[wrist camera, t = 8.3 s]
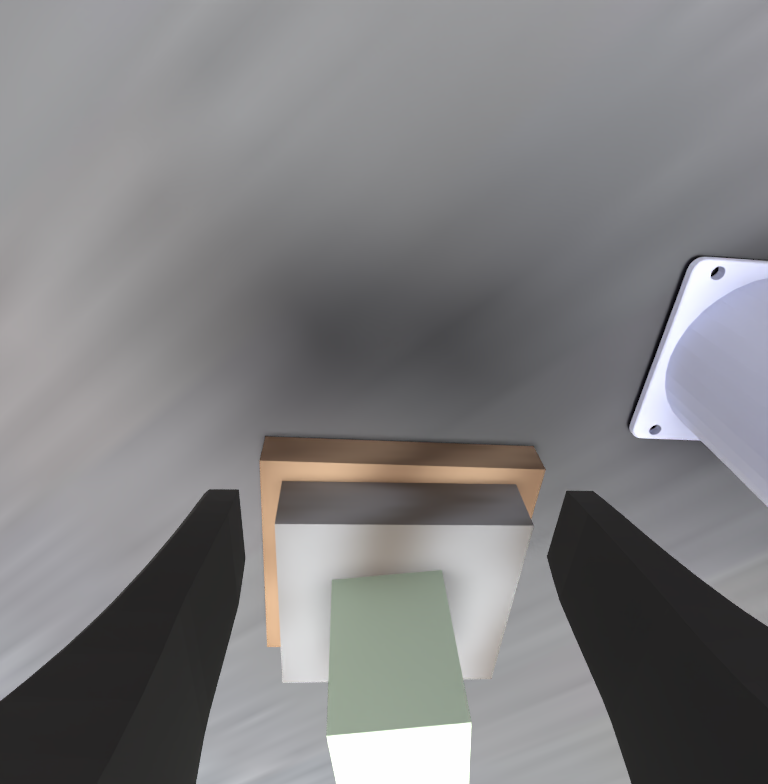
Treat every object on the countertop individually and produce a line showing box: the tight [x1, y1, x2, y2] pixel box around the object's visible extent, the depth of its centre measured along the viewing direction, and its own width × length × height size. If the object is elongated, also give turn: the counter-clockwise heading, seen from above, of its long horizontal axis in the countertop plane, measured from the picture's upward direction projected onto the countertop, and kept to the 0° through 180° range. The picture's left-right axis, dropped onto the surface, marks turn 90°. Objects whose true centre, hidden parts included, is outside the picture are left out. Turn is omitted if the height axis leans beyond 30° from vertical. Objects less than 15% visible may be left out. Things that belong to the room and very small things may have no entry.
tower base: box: [260, 436, 546, 647], centre depth 26 cm, size 12×12×2 cm
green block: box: [326, 570, 471, 784], centre depth 20 cm, size 4×4×6 cm
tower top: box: [275, 481, 534, 683], centre depth 24 cm, size 10×10×2 cm
